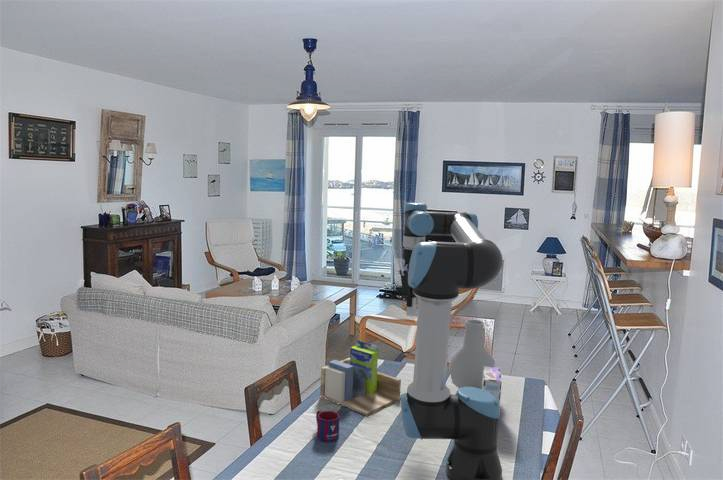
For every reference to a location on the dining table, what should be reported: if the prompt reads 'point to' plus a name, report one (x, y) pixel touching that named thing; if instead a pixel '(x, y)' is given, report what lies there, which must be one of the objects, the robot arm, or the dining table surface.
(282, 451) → the dining table surface
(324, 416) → the mug
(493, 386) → the candy box
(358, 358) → the box
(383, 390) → the shelf
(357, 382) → the bookend
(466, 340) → the vase
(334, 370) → the shelved books
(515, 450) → the dining table surface
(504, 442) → the dining table surface
